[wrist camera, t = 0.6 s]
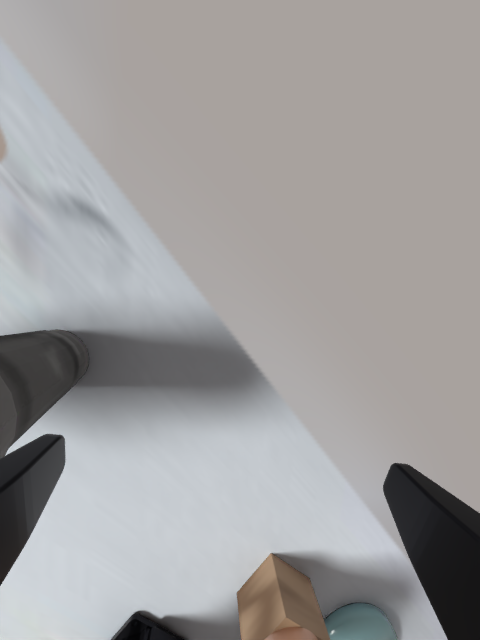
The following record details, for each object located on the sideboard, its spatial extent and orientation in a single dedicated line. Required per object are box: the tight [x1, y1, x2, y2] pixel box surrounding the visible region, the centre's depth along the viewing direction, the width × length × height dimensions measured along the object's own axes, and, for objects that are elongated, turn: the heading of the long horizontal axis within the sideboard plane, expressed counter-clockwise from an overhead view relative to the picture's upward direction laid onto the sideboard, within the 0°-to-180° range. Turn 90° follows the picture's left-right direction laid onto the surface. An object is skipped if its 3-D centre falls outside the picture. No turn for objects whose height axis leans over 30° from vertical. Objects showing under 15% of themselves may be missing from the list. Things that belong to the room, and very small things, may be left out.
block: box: [237, 553, 330, 640], centre depth 23 cm, size 5×5×5 cm
